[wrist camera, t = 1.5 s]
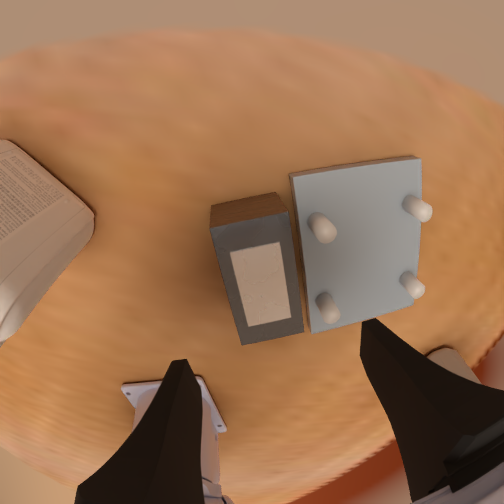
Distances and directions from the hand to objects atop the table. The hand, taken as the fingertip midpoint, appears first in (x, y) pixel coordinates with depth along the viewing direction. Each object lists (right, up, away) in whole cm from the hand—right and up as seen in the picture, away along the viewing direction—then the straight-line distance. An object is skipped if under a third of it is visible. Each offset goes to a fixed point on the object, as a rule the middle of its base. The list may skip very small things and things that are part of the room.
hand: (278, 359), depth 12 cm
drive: (-1, +4, +9) cm, 10 cm away
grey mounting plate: (+7, +5, +9) cm, 12 cm away
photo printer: (-16, +8, +5) cm, 18 cm away
